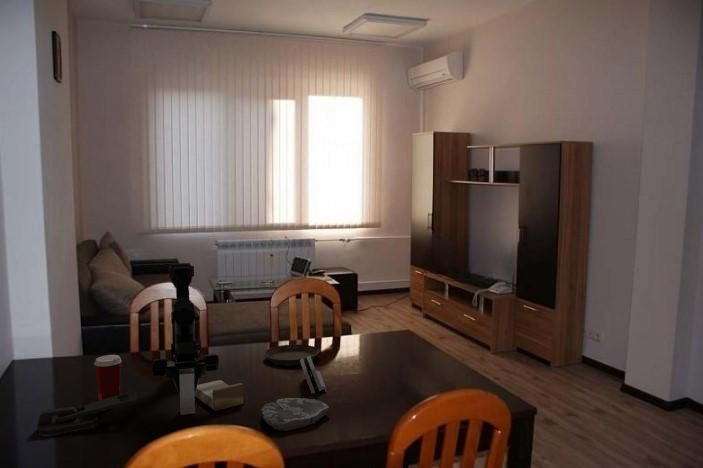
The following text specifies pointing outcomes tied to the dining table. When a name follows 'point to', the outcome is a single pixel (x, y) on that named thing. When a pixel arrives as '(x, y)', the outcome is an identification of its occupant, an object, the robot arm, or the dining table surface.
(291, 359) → the plant saucer
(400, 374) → the dining table surface
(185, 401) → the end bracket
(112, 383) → the paper cup
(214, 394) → the block
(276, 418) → the brain slice
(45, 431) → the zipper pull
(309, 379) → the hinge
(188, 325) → the robot arm
